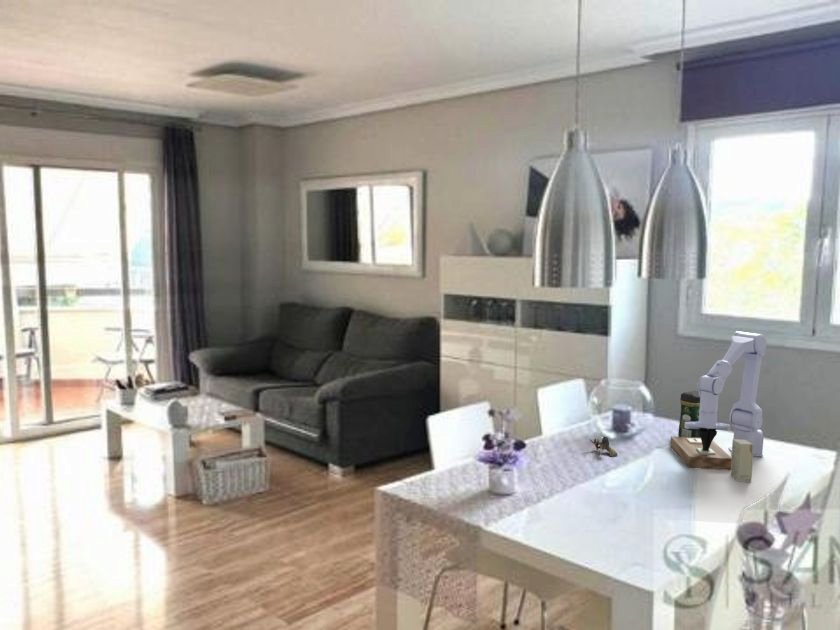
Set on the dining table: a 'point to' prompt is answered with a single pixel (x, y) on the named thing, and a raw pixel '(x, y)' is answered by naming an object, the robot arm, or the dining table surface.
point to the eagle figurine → (604, 446)
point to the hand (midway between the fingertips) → (705, 449)
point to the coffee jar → (689, 413)
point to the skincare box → (742, 460)
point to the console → (700, 455)
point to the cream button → (693, 441)
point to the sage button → (701, 451)
